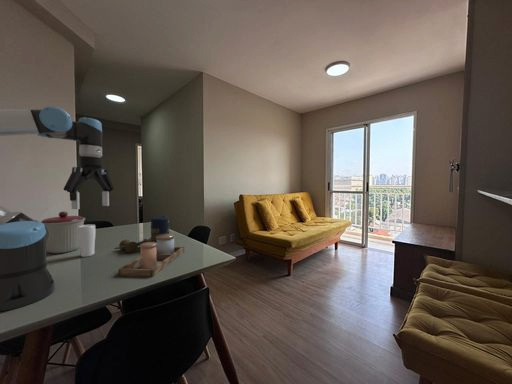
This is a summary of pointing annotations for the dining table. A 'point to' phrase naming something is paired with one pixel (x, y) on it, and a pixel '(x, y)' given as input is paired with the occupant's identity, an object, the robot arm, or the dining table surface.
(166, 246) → the white lidded jar
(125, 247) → the kendama
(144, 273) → the caddy
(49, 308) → the dining table surface
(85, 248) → the white tall cup
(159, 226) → the canister
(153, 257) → the tan domed cylinder
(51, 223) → the canister
